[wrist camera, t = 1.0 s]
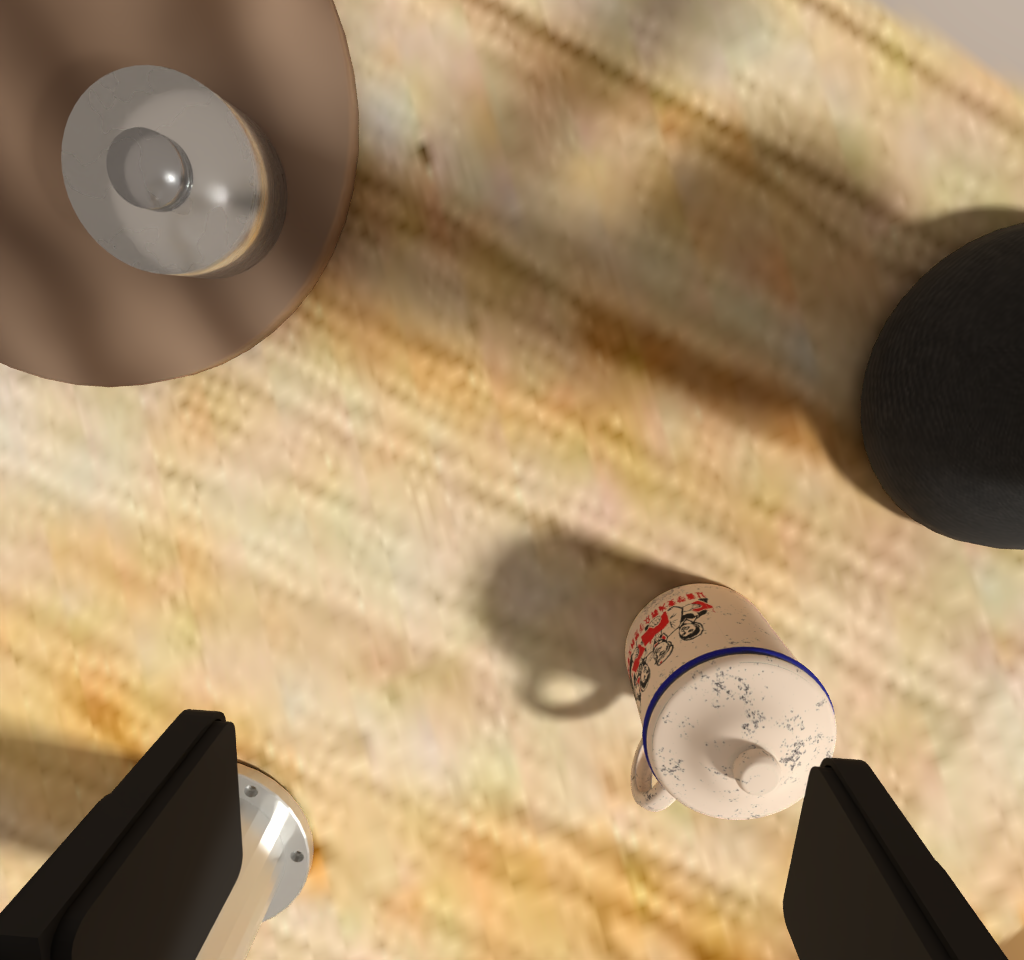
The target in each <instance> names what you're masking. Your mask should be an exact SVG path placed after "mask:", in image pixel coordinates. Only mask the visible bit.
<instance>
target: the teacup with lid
mask: <svg viewBox="0 0 1024 960" xmlns="http://www.w3.org/2000/svg"><path fill="white" fill-rule="evenodd" d="M625 661H626V666H627V670H628V674H629V678H630V681H631V685H632V689H633V693H634V696H635V700H636V704H637V707H638V711H639V715H640V719H641V722H642V726H643V732H642V739H641V741H640V743H639V745H638V747H637V750H636V752H635V756H634V759H633V764H632V770H631V790H632V794H633V797H634V799H635V801H636V802H637V804H639V805H640V806H641V807H643V808H645V809H646V810H649V811H653V812H657V811H661V810H664V809H665V808H667V807H668V806H670V805H671V804H672V803H673V802H674V801H675V800H678V801H679V802H681V803H682V804H684V805H685V806H687V807H689V808H691V809H693V810H695V811H697V812H699V813H702V814H704V815H708V816H711V817H715V818H720V819H728V820H746V819H755V818H760V817H764V816H768V815H771V814H774V813H777V812H779V811H782V810H784V809H786V808H788V807H790V806H791V805H793V804H795V803H796V802H798V801H799V800H800V799H802V798H803V797H804V796H805V791H806V786H807V781H808V776H809V772H810V770H811V768H812V767H814V766H819V767H820V764H821V762H822V760H823V759H824V758H832V756H833V752H834V749H835V743H836V721H835V714H834V709H833V706H832V702H831V700H830V698H829V695H828V693H827V692H826V690H825V688H824V686H823V685H822V684H821V682H820V681H819V680H818V678H817V677H816V676H815V675H814V674H813V673H812V672H811V671H810V670H809V669H807V668H806V667H805V666H804V665H802V664H801V663H799V662H798V661H797V660H796V658H795V657H794V656H793V654H792V653H791V652H790V650H789V649H788V648H787V646H786V645H785V644H784V643H783V641H782V640H781V639H780V637H779V636H778V635H777V633H776V632H775V631H774V629H773V628H772V627H771V626H770V624H769V623H768V622H767V620H766V619H765V618H764V616H763V615H762V614H761V612H760V611H759V610H758V609H757V607H756V606H755V605H754V604H753V603H752V602H750V601H749V600H748V599H747V598H745V597H744V596H743V595H741V594H739V593H738V592H736V591H734V590H731V589H729V588H726V587H723V586H719V585H714V584H689V585H683V586H679V587H676V588H673V589H671V590H668V591H666V592H664V593H662V594H660V595H659V596H657V597H656V598H654V599H653V600H652V601H650V602H649V603H648V604H647V605H646V606H645V607H644V608H643V609H642V610H641V611H640V613H639V614H638V615H637V617H636V618H635V620H634V621H633V623H632V625H631V627H630V630H629V632H628V635H627V639H626V644H625ZM652 774H654V776H655V777H656V779H657V780H658V782H657V783H656V784H655V786H654V787H652Z"/></svg>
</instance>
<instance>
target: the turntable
mask: <svg viewBox="0 0 1024 960" xmlns="http://www.w3.org/2000/svg"><path fill="white" fill-rule="evenodd" d="M135 65H153V66H162V67H165V68H169V69H173V70H176V71H178V72H181V73H183V74H186V75H188V76H190V77H191V78H193V79H195V80H197V81H198V82H200V83H201V84H203V85H204V86H206V87H207V88H209V89H210V90H211V91H213V92H214V93H216V94H217V95H219V96H220V97H222V98H223V99H224V100H226V101H227V102H229V103H230V104H232V105H233V106H235V107H236V108H237V109H239V110H240V111H242V112H243V113H244V114H246V115H247V116H248V117H250V118H251V119H252V120H253V121H254V122H255V123H256V124H257V125H258V126H259V127H260V128H261V129H262V130H263V132H264V133H265V134H266V135H267V136H268V138H269V140H270V141H271V143H272V144H273V146H274V147H275V150H276V152H277V154H278V156H279V158H280V160H281V163H282V166H283V169H284V173H285V178H286V183H287V193H288V200H287V212H286V218H285V221H284V225H283V228H282V231H281V233H280V235H279V238H278V240H277V241H276V243H275V245H274V246H273V248H272V249H271V250H270V252H269V253H268V254H267V255H266V256H265V257H264V258H263V259H262V260H261V261H260V262H259V263H258V264H256V265H255V266H253V267H252V268H251V269H249V270H247V271H245V272H243V273H241V274H238V275H235V276H232V277H227V278H221V279H205V278H195V277H186V276H176V275H166V274H157V273H151V272H147V271H143V270H140V269H137V268H135V267H132V266H130V265H128V264H126V263H124V262H122V261H120V260H119V259H117V258H116V257H114V256H113V255H111V254H110V253H109V252H107V251H106V250H105V249H104V248H103V247H102V246H100V245H99V244H98V243H97V242H96V241H95V240H94V238H93V237H92V236H91V235H90V234H89V233H88V231H87V230H86V229H85V227H84V226H83V224H82V223H81V222H80V220H79V218H78V216H77V215H76V213H75V211H74V209H73V207H72V204H71V202H70V200H69V197H68V194H67V191H66V187H65V184H64V179H63V173H62V162H61V151H62V140H63V135H64V130H65V127H66V124H67V121H68V118H69V116H70V114H71V112H72V110H73V108H74V106H75V104H76V103H77V101H78V100H79V98H80V97H81V95H82V94H83V93H84V92H85V91H86V90H87V89H88V88H89V87H90V86H91V85H92V84H93V83H95V82H96V81H97V80H99V79H100V78H102V77H103V76H105V75H107V74H109V73H111V72H113V71H116V70H119V69H121V68H125V67H130V66H135ZM358 152H359V111H358V102H357V93H356V84H355V75H354V70H353V66H352V62H351V57H350V53H349V49H348V44H347V40H346V36H345V33H344V30H343V27H342V24H341V21H340V19H339V16H338V13H337V10H336V7H335V4H334V2H333V0H0V363H2V364H5V365H7V366H9V367H11V368H14V369H17V370H20V371H23V372H26V373H29V374H32V375H35V376H38V377H42V378H45V379H50V380H55V381H60V382H65V383H70V384H75V385H87V386H102V387H118V386H133V385H144V384H150V383H155V382H161V381H166V380H171V379H175V378H180V377H185V376H190V375H194V374H197V373H200V372H202V371H205V370H208V369H211V368H213V367H216V366H219V365H222V364H224V363H226V362H228V361H229V360H231V359H233V358H235V357H237V356H239V355H241V354H242V353H244V352H246V351H248V350H250V349H251V348H252V347H254V346H255V345H257V344H258V343H259V342H261V341H262V340H263V339H265V338H266V337H267V336H269V335H270V334H271V333H273V332H274V331H275V330H276V329H277V328H278V327H279V326H280V325H281V324H282V323H283V322H284V321H285V320H286V319H287V318H288V317H289V316H290V315H291V314H292V313H293V312H294V311H295V310H296V309H297V308H298V307H299V305H300V304H301V303H302V301H303V300H304V299H305V298H306V296H307V295H308V294H309V292H310V291H311V290H312V288H313V287H314V286H315V284H316V283H317V281H318V279H319V277H320V276H321V274H322V272H323V270H324V269H325V267H326V265H327V263H328V261H329V260H330V258H331V256H332V254H333V252H334V249H335V247H336V244H337V242H338V239H339V237H340V234H341V232H342V229H343V227H344V224H345V221H346V217H347V213H348V209H349V205H350V201H351V198H352V194H353V190H354V183H355V176H356V168H357V160H358Z"/></svg>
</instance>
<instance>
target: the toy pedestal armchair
mask: <svg viewBox="0 0 1024 960" xmlns="http://www.w3.org/2000/svg"><path fill="white" fill-rule="evenodd" d="M861 428H862V434H863V440H864V446H865V449H866V452H867V455H868V458H869V461H870V464H871V467H872V469H873V471H874V473H875V475H876V476H877V478H878V480H879V482H880V484H881V485H882V487H883V489H884V490H885V491H886V493H887V494H888V495H889V496H890V497H891V499H892V500H893V501H894V502H895V503H896V505H897V506H898V507H899V508H901V509H902V510H903V511H904V512H905V513H907V514H908V515H909V516H910V517H911V518H912V519H914V520H915V521H917V522H918V523H920V524H922V525H923V526H925V527H927V528H929V529H930V530H932V531H934V532H936V533H939V534H941V535H944V536H947V537H949V538H952V539H955V540H958V541H963V542H968V543H973V544H978V545H983V546H988V547H993V548H999V549H1021V550H1023V549H1024V223H1021V224H1017V225H1014V226H1010V227H1007V228H1003V229H1000V230H996V231H994V232H992V233H989V234H987V235H985V236H983V237H981V238H978V239H976V240H974V241H972V242H969V243H968V244H966V245H965V246H963V247H961V248H960V249H958V250H957V251H955V252H953V253H952V254H950V255H949V256H947V257H945V258H944V259H943V260H942V261H940V262H939V263H938V264H937V265H936V266H934V267H933V268H932V269H931V270H930V271H928V272H927V273H926V274H925V275H924V276H923V277H921V278H920V280H919V281H918V282H917V283H916V284H915V285H914V286H913V287H912V288H911V289H910V291H909V292H908V293H907V294H906V295H905V296H904V297H903V298H902V300H901V301H900V302H899V304H898V305H897V307H896V308H895V310H894V311H893V313H892V314H891V316H890V317H889V319H888V320H887V321H886V323H885V325H884V327H883V329H882V331H881V333H880V335H879V337H878V339H877V341H876V343H875V345H874V347H873V350H872V353H871V356H870V360H869V363H868V366H867V369H866V372H865V377H864V383H863V389H862V395H861Z"/></svg>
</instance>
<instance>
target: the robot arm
mask: <svg viewBox="0 0 1024 960" xmlns="http://www.w3.org/2000/svg"><path fill="white" fill-rule="evenodd" d="M313 853H314V847H313V836H312V832H311V829H310V826H309V823H308V820H307V818H306V816H305V815H304V813H303V811H302V809H301V807H300V806H299V804H298V803H297V802H296V801H295V800H294V798H293V797H292V796H291V795H290V794H289V792H288V791H286V790H285V789H284V788H283V787H282V786H280V785H279V784H278V783H277V782H276V781H274V780H273V779H271V778H270V777H268V776H266V775H264V774H263V773H261V772H259V771H258V770H255V769H252V768H250V767H247V766H245V765H242V764H239V763H237V751H236V735H235V726H234V724H233V723H232V722H226V719H225V716H224V714H223V713H222V712H218V711H205V710H191V709H187V710H184V711H183V712H182V713H181V714H180V715H179V716H178V717H177V718H176V719H175V720H174V721H173V723H172V724H171V725H170V726H169V727H168V728H167V729H166V731H165V732H164V733H163V734H162V735H161V736H160V737H159V739H158V740H157V741H156V742H155V743H154V744H153V746H152V747H151V748H150V749H149V750H148V751H147V752H146V754H145V755H144V756H143V757H142V758H141V759H140V760H139V762H138V763H137V764H136V765H135V766H134V767H133V768H132V770H131V771H130V772H129V773H128V774H127V775H126V776H125V778H124V779H123V780H122V781H121V782H120V783H119V784H118V786H117V787H116V788H115V789H114V790H113V791H112V793H110V794H108V795H106V796H105V797H104V798H103V799H101V800H100V801H99V802H98V803H97V804H96V805H95V807H94V808H93V809H92V810H91V811H90V812H89V813H88V814H87V816H86V817H85V818H84V819H83V820H82V821H81V822H80V824H79V825H78V826H77V827H76V828H75V829H74V830H73V831H72V833H71V834H70V835H69V836H68V837H67V838H66V839H65V841H64V842H63V843H62V844H61V845H60V846H59V847H58V848H57V850H56V851H55V852H54V853H53V854H52V855H51V856H50V858H49V859H48V860H47V861H46V862H45V863H44V864H43V865H42V867H41V868H40V869H39V870H38V871H37V872H36V873H35V875H34V876H33V877H32V878H31V879H30V880H29V881H28V882H27V884H26V885H25V886H24V887H23V888H22V889H21V890H20V892H19V893H18V894H17V895H16V896H15V897H14V898H13V899H12V901H11V902H10V903H9V904H8V905H7V906H6V907H5V909H4V910H3V911H2V912H1V913H0V960H245V959H246V957H247V955H248V952H249V950H250V948H251V945H252V943H253V941H254V939H255V936H256V934H257V932H258V930H259V927H260V925H261V923H262V922H264V921H266V920H269V919H271V918H273V917H275V916H277V915H278V914H279V913H281V912H282V911H283V910H285V909H286V908H287V907H289V906H290V905H291V903H292V902H293V901H294V900H295V899H296V898H297V896H298V895H299V894H300V892H301V890H302V888H303V886H304V884H305V882H306V880H307V877H308V874H309V871H310V869H311V866H312V860H313ZM783 911H784V918H785V923H786V926H787V929H788V931H789V934H790V936H791V939H792V941H793V944H794V947H795V949H796V952H797V954H798V957H799V959H800V960H1008V959H1007V957H1006V956H1005V955H1004V953H1003V952H1002V950H1001V949H1000V947H999V946H998V944H997V943H996V942H995V940H994V939H993V937H992V936H991V935H990V933H989V932H988V930H987V929H986V928H985V926H984V925H983V923H982V922H981V920H980V919H979V918H978V916H977V915H976V913H975V912H974V911H973V909H972V908H971V906H970V905H969V904H968V902H967V901H966V899H965V898H964V896H963V895H962V894H961V892H960V891H959V889H958V888H957V887H956V885H955V884H954V882H953V881H952V879H951V878H950V877H949V875H948V874H947V872H946V871H945V870H944V869H943V868H942V866H941V865H940V864H939V863H938V862H937V861H936V860H935V859H934V858H933V856H932V855H931V853H930V852H929V850H928V849H927V848H926V846H925V845H924V843H923V842H922V840H921V839H920V838H919V836H918V835H917V833H916V832H915V831H914V829H913V828H912V826H911V825H910V823H909V822H908V821H907V819H906V818H905V816H904V815H903V813H902V812H901V811H900V809H899V808H898V806H897V805H896V804H895V802H894V801H893V799H892V798H891V796H890V795H889V794H888V792H887V791H886V789H885V788H884V786H883V785H882V784H881V782H880V781H879V779H878V778H877V777H876V775H875V774H874V772H873V771H872V769H871V768H870V767H869V765H868V764H867V763H866V762H864V761H862V760H854V759H841V758H824V759H823V760H822V762H821V764H820V767H819V766H814V767H812V768H811V770H810V772H809V776H808V781H807V786H806V791H805V796H804V801H803V805H802V810H801V815H800V820H799V825H798V830H797V835H796V839H795V844H794V849H793V854H792V859H791V864H790V869H789V873H788V878H787V883H786V888H785V893H784V899H783Z"/></svg>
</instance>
